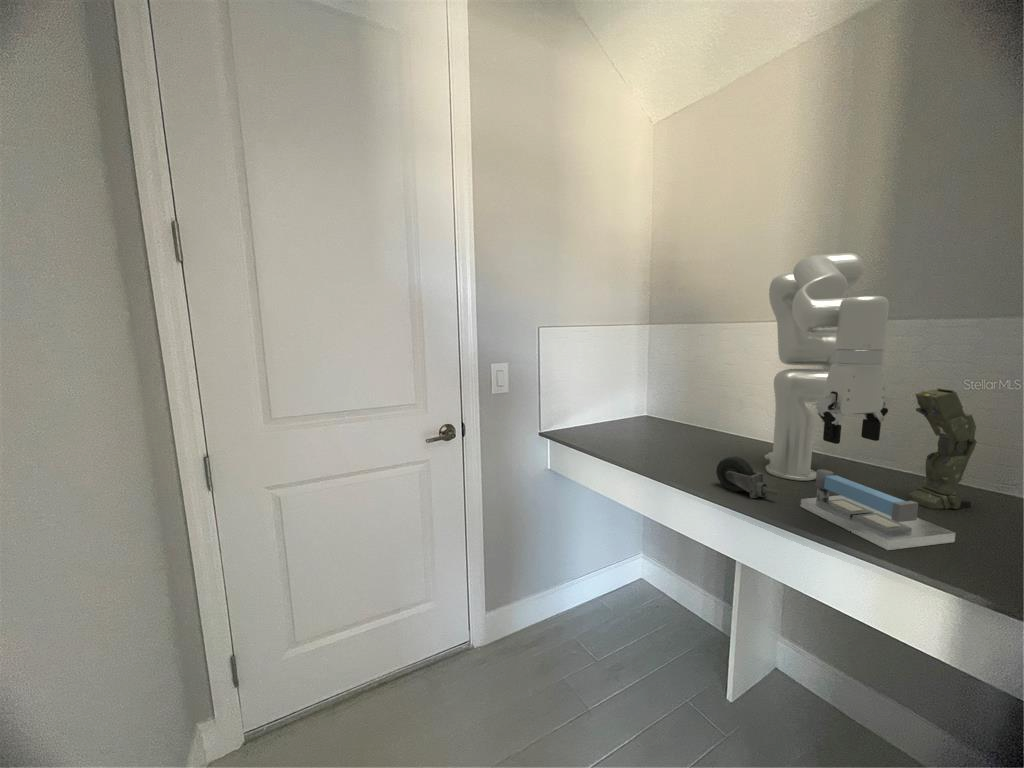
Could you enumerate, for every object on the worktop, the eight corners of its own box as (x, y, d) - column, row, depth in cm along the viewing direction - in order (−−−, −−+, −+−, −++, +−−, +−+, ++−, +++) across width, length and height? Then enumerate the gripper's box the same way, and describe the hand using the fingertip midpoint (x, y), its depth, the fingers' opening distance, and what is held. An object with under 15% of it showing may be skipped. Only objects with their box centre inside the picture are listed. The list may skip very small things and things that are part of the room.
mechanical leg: (958, 493, 102) (945, 380, 98) (992, 505, 95) (980, 384, 91) (906, 507, 102) (890, 395, 98) (936, 520, 95) (921, 400, 91)
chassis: (799, 506, 99) (801, 488, 98) (855, 500, 101) (857, 483, 100) (887, 550, 79) (890, 528, 78) (954, 542, 81) (957, 520, 81)
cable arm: (809, 485, 99) (811, 470, 98) (825, 484, 100) (826, 468, 99) (897, 523, 79) (899, 504, 79) (916, 521, 80) (918, 502, 80)
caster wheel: (713, 490, 112) (772, 504, 99) (712, 456, 111) (770, 466, 99) (725, 486, 115) (782, 498, 102) (723, 453, 114) (781, 461, 102)
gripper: (875, 355, 86) (867, 433, 89) (805, 358, 84) (799, 438, 86) (914, 358, 79) (905, 442, 81) (839, 361, 76) (831, 448, 79)
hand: (850, 440), depth 84 cm, fingers open, 9 cm apart
